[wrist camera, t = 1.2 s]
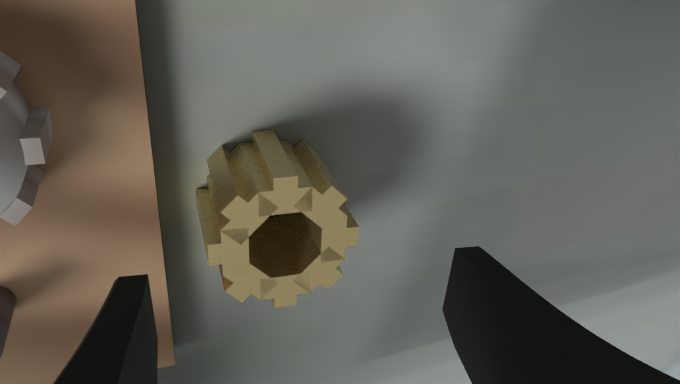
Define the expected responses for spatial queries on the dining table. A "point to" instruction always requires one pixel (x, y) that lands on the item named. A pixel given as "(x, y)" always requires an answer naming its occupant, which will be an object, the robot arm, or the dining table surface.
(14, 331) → the gear board
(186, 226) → the dining table surface
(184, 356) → the dining table surface
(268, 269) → the brass gear
